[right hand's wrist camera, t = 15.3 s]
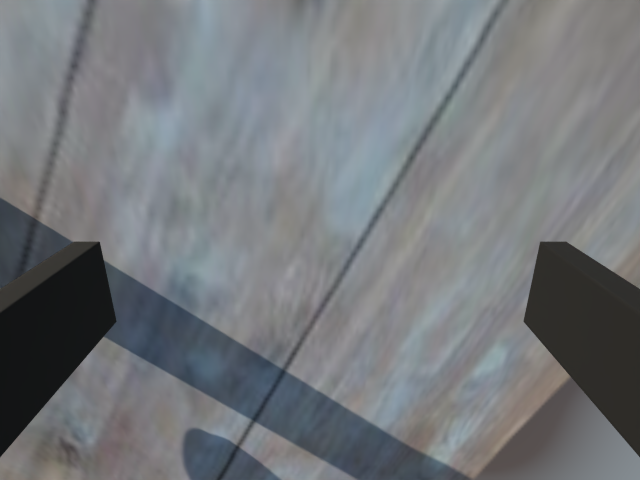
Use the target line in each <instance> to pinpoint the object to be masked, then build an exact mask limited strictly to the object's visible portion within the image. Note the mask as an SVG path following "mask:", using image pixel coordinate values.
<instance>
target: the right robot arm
mask: <svg viewBox="0 0 640 480" xmlns="http://www.w3.org/2000/svg"><path fill="white" fill-rule="evenodd" d="M115 322H116V317H115V312H114V308H113V303H112V298H111V293H110V289H109V284H108V279H107V274H106V270H105V265H104V260H103V255H102V251H101V246H100V242H73V243H71V244H70V245H68V246H67V247H65V248H63V249H62V250H60V251H59V252H57V253H56V254H54V255H53V256H51V257H49V258H48V259H46V260H45V261H43V262H42V263H40V264H39V265H37V266H35V267H34V268H32V269H31V270H29V271H28V272H26V273H25V274H23V275H21V276H20V277H18V278H17V279H15V280H14V281H12V282H11V283H9V284H7V285H6V286H4V287H3V288H1V289H0V457H1V456H2V454H3V453H4V452H5V451H6V450H7V449H8V447H9V446H10V445H11V444H12V443H13V442H14V440H15V439H16V438H17V437H18V436H19V435H20V433H21V432H22V431H23V430H24V429H25V428H26V426H27V425H28V424H29V423H30V422H31V421H32V419H33V418H34V417H35V416H36V415H37V414H38V412H39V411H40V410H41V409H42V408H43V407H44V405H45V404H46V403H47V402H48V401H49V400H50V398H51V397H52V396H53V395H54V394H55V393H56V391H57V390H58V389H59V388H60V387H61V386H62V384H63V383H64V382H65V381H66V380H67V379H68V377H69V376H70V375H71V374H72V373H73V372H74V370H75V369H76V368H77V367H78V366H79V365H80V363H81V362H82V361H83V360H84V359H85V358H86V356H87V355H88V354H89V353H90V352H91V351H92V349H93V348H94V347H95V346H96V345H97V344H98V342H99V341H100V340H101V339H102V338H103V337H104V335H105V334H106V333H107V332H108V331H109V329H110V328H111V327H112V326H113V325H114V324H115ZM524 322H525V324H526V325H527V326H528V327H529V328H530V329H531V331H532V332H533V333H534V334H535V335H536V337H537V338H538V339H539V340H540V341H541V342H542V344H543V345H544V346H545V347H546V348H547V349H548V351H549V352H550V353H551V354H552V355H553V356H554V358H555V359H556V360H557V361H558V362H559V363H560V365H561V366H562V367H563V368H564V369H565V370H566V372H567V373H568V374H569V375H570V376H571V377H572V379H573V380H574V381H575V382H576V383H577V384H578V386H579V387H580V388H581V389H582V390H583V391H584V393H585V394H586V395H587V396H588V397H589V398H590V400H591V401H592V402H593V403H594V404H595V405H596V407H597V408H598V409H599V410H600V411H601V412H602V414H603V415H604V416H605V417H606V418H607V419H608V421H609V422H610V423H611V424H612V425H613V426H614V428H615V429H616V430H617V431H618V432H619V433H620V435H621V436H622V437H623V438H624V439H625V440H626V442H627V443H628V444H629V445H630V446H631V447H632V449H633V450H634V451H635V452H636V453H637V454H638V456H639V457H640V289H639V288H637V287H636V286H634V285H633V284H631V283H629V282H628V281H626V280H625V279H623V278H622V277H620V276H619V275H617V274H615V273H614V272H612V271H611V270H609V269H608V268H606V267H605V266H603V265H601V264H600V263H598V262H597V261H595V260H594V259H592V258H591V257H589V256H587V255H586V254H584V253H583V252H581V251H580V250H578V249H577V248H575V247H573V246H572V245H570V244H569V243H567V242H540V246H539V251H538V255H537V260H536V265H535V270H534V274H533V279H532V284H531V289H530V293H529V298H528V303H527V308H526V312H525V317H524Z"/></svg>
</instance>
